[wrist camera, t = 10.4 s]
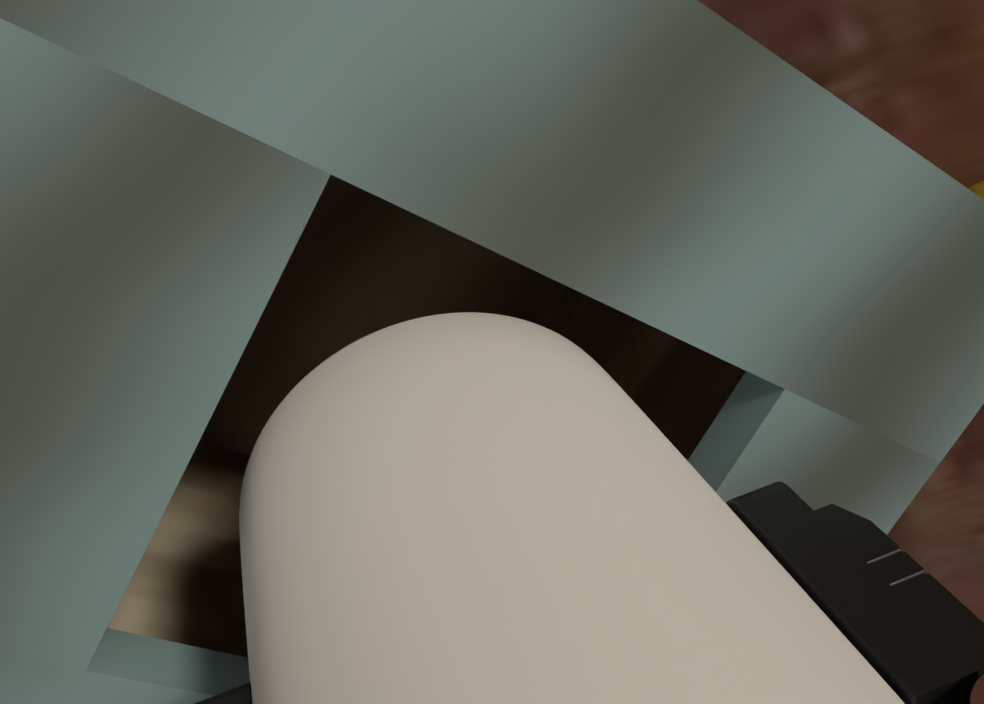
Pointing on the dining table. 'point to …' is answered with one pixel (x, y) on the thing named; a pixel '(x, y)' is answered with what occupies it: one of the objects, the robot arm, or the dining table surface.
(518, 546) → the can
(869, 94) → the dining table surface
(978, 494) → the dining table surface
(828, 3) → the dining table surface
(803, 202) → the drop box
